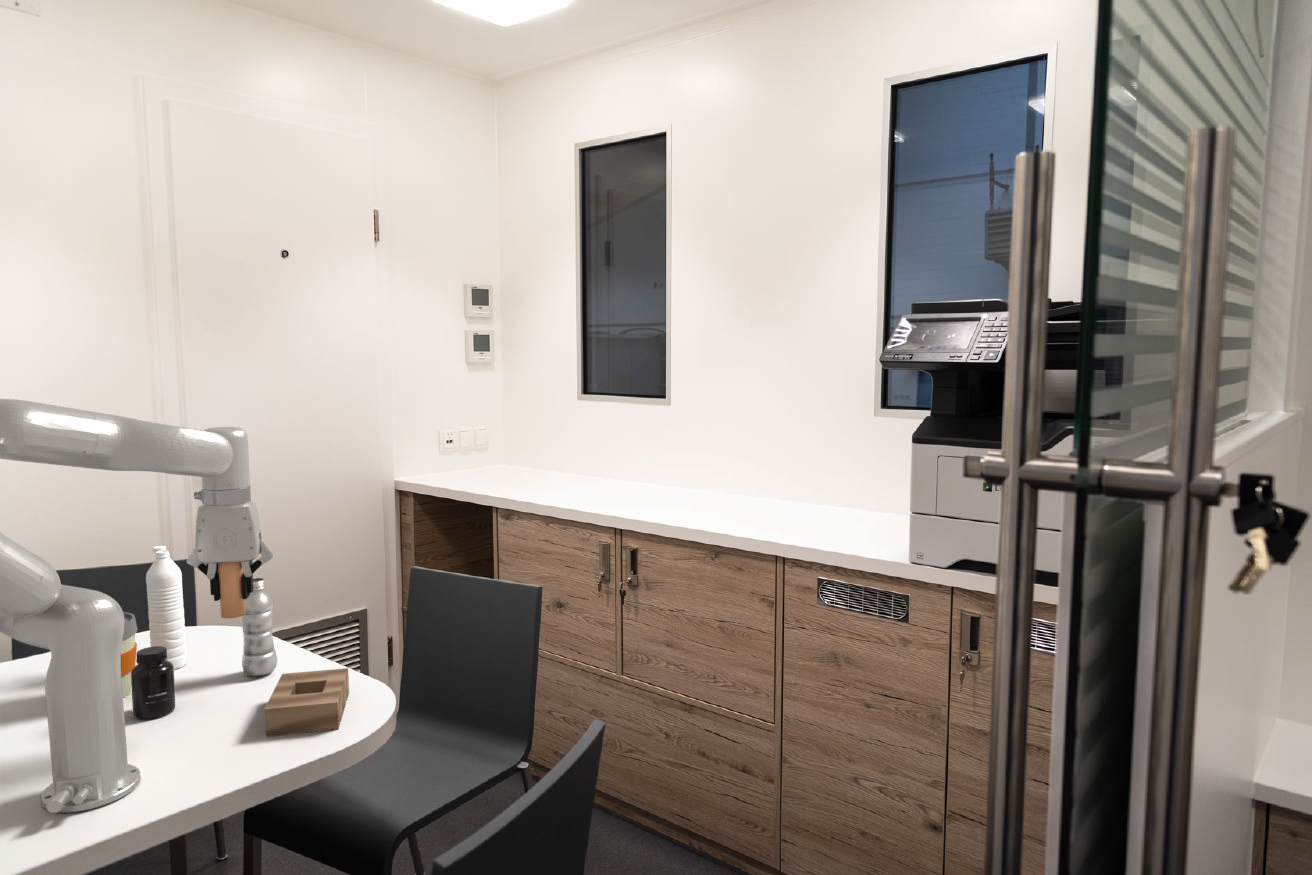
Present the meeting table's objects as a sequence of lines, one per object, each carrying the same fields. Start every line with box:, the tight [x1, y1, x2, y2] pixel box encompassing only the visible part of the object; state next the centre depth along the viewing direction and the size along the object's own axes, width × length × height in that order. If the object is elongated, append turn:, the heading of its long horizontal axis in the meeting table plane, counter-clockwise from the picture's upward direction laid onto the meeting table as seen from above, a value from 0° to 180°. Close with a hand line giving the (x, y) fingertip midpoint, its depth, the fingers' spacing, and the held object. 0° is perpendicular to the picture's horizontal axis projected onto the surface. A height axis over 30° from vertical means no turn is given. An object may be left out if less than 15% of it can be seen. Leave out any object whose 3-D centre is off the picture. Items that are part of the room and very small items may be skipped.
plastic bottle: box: [239, 577, 278, 677], centre depth 172 cm, size 6×7×20 cm
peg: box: [218, 562, 246, 619], centre depth 149 cm, size 4×4×12 cm
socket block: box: [263, 667, 350, 737], centre depth 154 cm, size 16×12×5 cm
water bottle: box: [145, 545, 188, 671], centre depth 176 cm, size 9×6×25 cm
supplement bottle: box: [131, 646, 176, 721], centre depth 154 cm, size 7×7×12 cm
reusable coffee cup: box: [121, 611, 138, 699], centre depth 161 cm, size 13×13×15 cm
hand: (232, 596), depth 149 cm, fingers closed on peg, 4 cm apart
